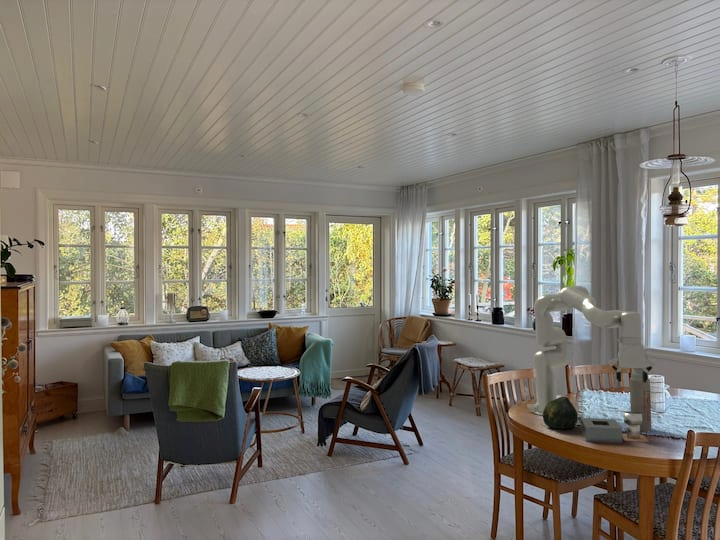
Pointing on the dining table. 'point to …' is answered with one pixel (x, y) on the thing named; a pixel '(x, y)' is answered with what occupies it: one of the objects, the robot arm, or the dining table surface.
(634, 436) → the end cover
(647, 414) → the thermos bottle
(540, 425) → the dining table surface
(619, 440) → the box
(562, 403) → the squash
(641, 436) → the coaster
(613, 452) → the dining table surface
